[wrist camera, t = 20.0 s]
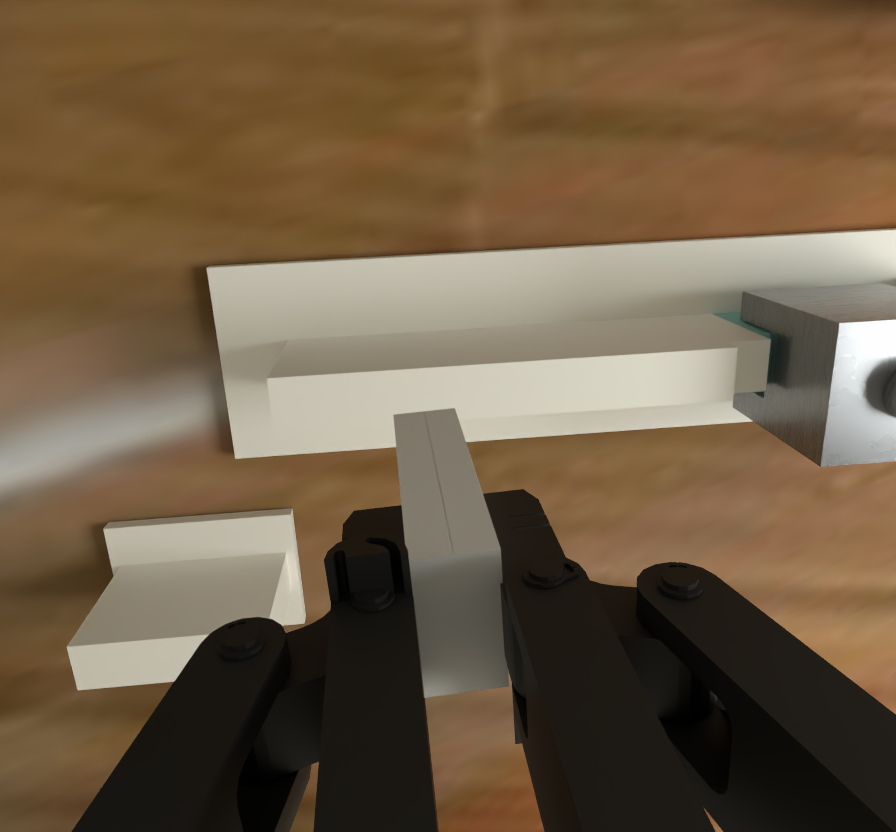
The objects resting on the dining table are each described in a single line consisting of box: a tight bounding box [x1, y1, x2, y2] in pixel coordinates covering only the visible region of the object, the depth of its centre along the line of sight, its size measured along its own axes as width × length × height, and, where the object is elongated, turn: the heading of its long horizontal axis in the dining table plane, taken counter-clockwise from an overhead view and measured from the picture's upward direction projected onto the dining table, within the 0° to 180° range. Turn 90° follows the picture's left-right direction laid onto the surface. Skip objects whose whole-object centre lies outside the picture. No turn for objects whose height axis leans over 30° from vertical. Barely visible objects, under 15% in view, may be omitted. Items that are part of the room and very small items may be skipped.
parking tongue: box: [67, 508, 306, 690], centre depth 37 cm, size 7×10×8 cm
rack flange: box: [207, 228, 896, 459], centre depth 34 cm, size 10×37×10 cm, turn 93°
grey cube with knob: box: [733, 283, 896, 467], centre depth 32 cm, size 6×7×9 cm
